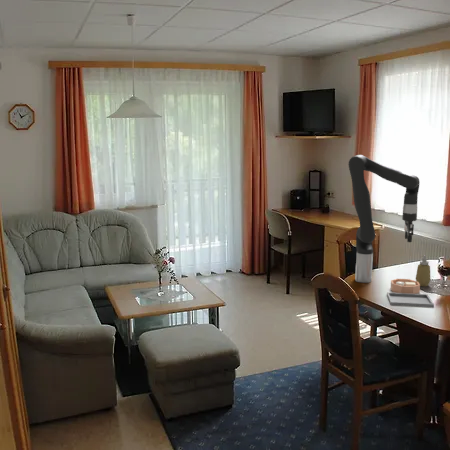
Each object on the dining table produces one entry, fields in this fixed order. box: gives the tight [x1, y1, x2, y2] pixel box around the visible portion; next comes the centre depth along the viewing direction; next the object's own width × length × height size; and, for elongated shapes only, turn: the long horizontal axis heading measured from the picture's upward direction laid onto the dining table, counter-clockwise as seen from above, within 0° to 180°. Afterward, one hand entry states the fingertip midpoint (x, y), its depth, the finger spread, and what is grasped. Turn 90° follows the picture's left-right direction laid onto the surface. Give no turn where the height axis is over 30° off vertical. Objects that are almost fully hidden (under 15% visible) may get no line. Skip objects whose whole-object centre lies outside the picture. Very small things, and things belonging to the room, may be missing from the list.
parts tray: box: [386, 291, 435, 308], centre depth 267 cm, size 21×16×2 cm
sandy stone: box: [405, 282, 416, 286], centre depth 283 cm, size 5×4×4 cm
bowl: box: [390, 278, 421, 294], centre depth 284 cm, size 15×15×5 cm
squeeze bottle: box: [415, 254, 431, 287], centre depth 293 cm, size 8×8×18 cm
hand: (408, 240), depth 284 cm, fingers open, 8 cm apart
